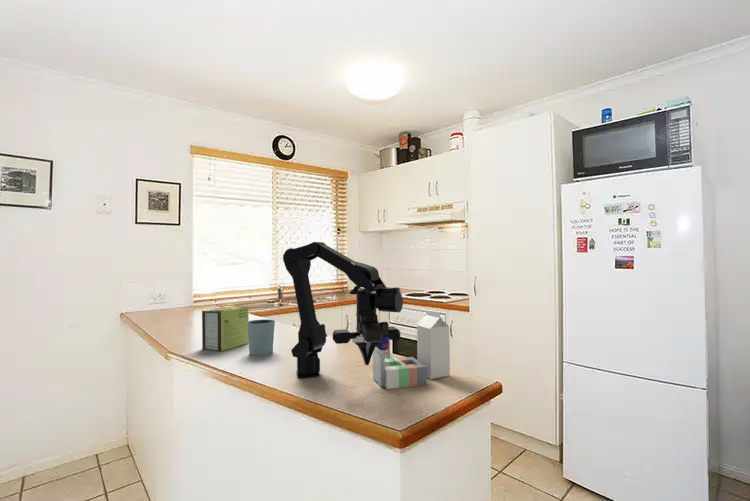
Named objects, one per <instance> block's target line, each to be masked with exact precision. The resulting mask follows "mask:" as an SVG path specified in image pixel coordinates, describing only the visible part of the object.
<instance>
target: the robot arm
mask: <svg viewBox="0 0 750 501" xmlns="http://www.w3.org/2000/svg"><path fill="white" fill-rule="evenodd" d="M317 258H319V259H321V260H323V261H324V262H326V263H327V264H329V265H331V266H333V267H335V268H336V269H338V270H340V271H341V272H343V273H344V274H345V275H346V276H347V278H348V279H349V280H350V281H351V282H352V283H353V284H354V285H355V286H354V288H352V289H351V290H350V291H349V293H348V294H350V295H356V296H355V297H356V312H355V317H356V326H355V330H356V331H353V332H352V331H351V332H350V331H349V330H348V329H345V328H344V329H334V330H333V332H332V340H333V342H334V343H335V344H338V345H339V344H348V343H350V342H351V340H352V343H354V344H355V346H357V347H358V349H359V351H360V354H361V357H362V360H363V363H364V365H365V366H369V365H370V362H371V359H372V357H373V351H374V349H375V347H376V346H377V344H380V343H381V339H382V337H388V338H389V339H390V341H394V340H395V341H396V340H397V341H398V340H401V331H400V329H399V328H398V327H395V326H389V323H388V321H381V322H379V319H378V314H377V310H378V311H379V312H384V313H385V312H387V313H388V312H389V313H401V311H402V309H403V306H404V298H403V295H402V292H401V290H400V289H401V288H400V287H396V286H395V287H387V286H386V284H385V283H384V282H383V280H382V279H381V277H380V274H379V270H378V269H377V268H376V267H375V266H372V265H369V264H366V263H363V262H358V261H355V260H354V259H351V258H350V257H349V256H346V255H344V254H343V253H341V252H340V251H338V250H336V249H334V248H332V247H330V246H329V245H327V243H325V242H323V241H312V242H310V243H309V244H308V243H307V244H305V245H302V246H298V247H296V248H295V247H290V248H287V249H286V250H285V251H284V253H283V255H282V261H283V263H284V266H285V270H286V271H287V273H289V275H290V276H291V277H292V278H291V279H292V281H293V287H294V292H295V299H296V303H297V304H296V305H297V308H298V309H297V310H298V315H299V319H300V325H299V330H298V332H297V335H298V336H297V338H298V339H297V340H298V342H297V343H296V344H295V345H294V346H293V348H291V354H292V357H293V358H296V371H295V373H296V377H297V378H298V379H300V378H301V379H302V378H303V379H304V378H313V377H320V373H321V359H320V357H319V354H318V353H321V352H322V350H323V347H324V346H325V344H326V343H327V338H328V334H327V332H326V326H325V324H324V323H322V324H321V323H320V322H319V321H318V319H317V315H316V308H315V305H314V299H313V293H312V288H311V281H310V276H309V273H310V270H311V266H312V265H311V264H312V263H311V262H312V261H313V260H315V259H317Z"/></svg>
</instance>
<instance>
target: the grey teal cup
mask: <svg viewBox="0 0 750 501" xmlns="http://www.w3.org/2000/svg"><path fill="white" fill-rule="evenodd" d="M275 323H276V321H275V320H274V319H265V318H264V319H263V318H262V319H253V320H249V321H248V322H247V327H248V339H249V343H248V352H249V355H250V356H254V357H263V356H268V355H271V354H273V352H274V340H275V339H274V337H275V335H274V334H275V326H276V325H275Z"/></svg>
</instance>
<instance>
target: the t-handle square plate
mask: <svg viewBox="0 0 750 501" xmlns="http://www.w3.org/2000/svg"><path fill="white" fill-rule="evenodd" d="M390 358H392V359H393V360H395V361H396V366H399V365H401V366H402V367H403V368H406V365H405V364H404V363H403V362H401V361H400V360H399V359H398V358H399V357H397V356H395V355H394V354H393V353H390ZM372 378H373V379H374V381H375V382H376V383H377V384H378V386H379V387H384V386H385V354H384V353H383V352H382V351H381V350H379V349H378V348H377V347H375V349H374V351H373V353H372Z"/></svg>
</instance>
